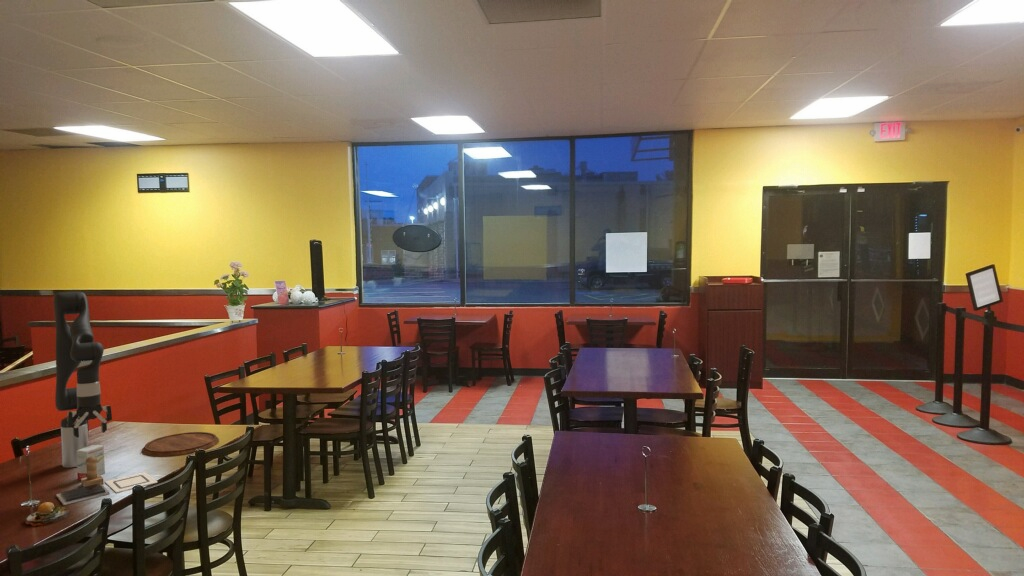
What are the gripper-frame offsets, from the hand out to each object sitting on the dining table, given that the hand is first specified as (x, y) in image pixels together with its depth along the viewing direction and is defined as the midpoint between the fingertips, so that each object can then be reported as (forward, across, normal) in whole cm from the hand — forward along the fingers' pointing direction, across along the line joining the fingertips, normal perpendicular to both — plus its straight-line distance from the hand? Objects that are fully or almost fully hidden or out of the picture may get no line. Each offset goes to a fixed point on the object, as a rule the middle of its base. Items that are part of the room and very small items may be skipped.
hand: (90, 434), depth 232 cm
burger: (+20, +18, +25) cm, 37 cm away
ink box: (+20, -2, -11) cm, 23 cm away
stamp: (+20, 0, 0) cm, 20 cm away
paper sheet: (+20, -11, +9) cm, 24 cm away
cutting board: (+21, -41, -27) cm, 53 cm away
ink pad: (+20, +5, +10) cm, 23 cm away
